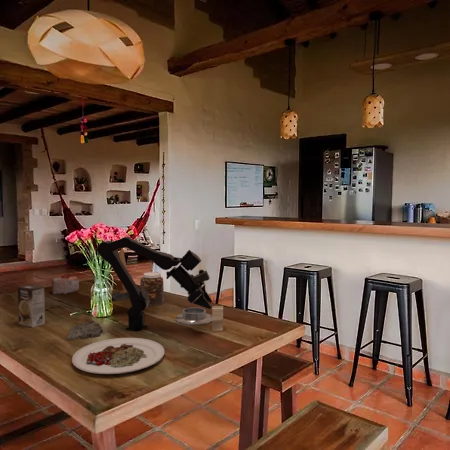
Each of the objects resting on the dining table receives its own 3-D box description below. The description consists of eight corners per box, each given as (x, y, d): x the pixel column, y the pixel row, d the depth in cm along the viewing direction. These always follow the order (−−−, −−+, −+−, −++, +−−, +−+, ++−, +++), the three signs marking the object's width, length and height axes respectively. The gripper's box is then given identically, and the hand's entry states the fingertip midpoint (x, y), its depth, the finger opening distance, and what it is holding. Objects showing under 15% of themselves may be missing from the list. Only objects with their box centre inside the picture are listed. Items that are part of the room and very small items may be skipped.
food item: (76, 289, 234) (76, 272, 233) (79, 292, 227) (79, 275, 226) (51, 292, 227) (50, 274, 226) (53, 295, 220) (52, 277, 219)
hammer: (111, 305, 209) (99, 250, 204) (108, 303, 214) (97, 248, 209) (147, 293, 219) (136, 240, 214) (143, 291, 223) (133, 239, 218)
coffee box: (17, 324, 171) (16, 286, 170) (31, 320, 177) (30, 283, 176) (32, 327, 167) (31, 289, 166) (45, 323, 172) (44, 286, 171)
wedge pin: (222, 330, 165) (223, 308, 165) (212, 330, 165) (212, 308, 165) (223, 327, 170) (223, 305, 169) (212, 327, 170) (212, 305, 169)
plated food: (182, 357, 138) (182, 348, 138) (104, 388, 116) (104, 377, 116) (130, 336, 158) (130, 328, 158) (55, 359, 136) (55, 349, 136)
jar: (166, 300, 211) (166, 272, 210) (160, 306, 200) (160, 276, 199) (144, 299, 212) (143, 271, 211) (137, 305, 201) (136, 275, 200)
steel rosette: (200, 327, 169) (200, 318, 168) (168, 321, 176) (168, 312, 176) (218, 317, 183) (218, 308, 183) (188, 312, 190) (188, 303, 190)
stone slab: (105, 326, 171) (104, 318, 171) (99, 340, 155) (99, 332, 155) (73, 327, 169) (73, 320, 169) (64, 342, 153) (64, 334, 152)
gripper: (196, 268, 156) (224, 297, 157) (199, 260, 175) (225, 286, 176) (175, 289, 157) (204, 317, 158) (181, 279, 175) (206, 304, 176)
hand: (211, 305), depth 167 cm, fingers open, 9 cm apart
